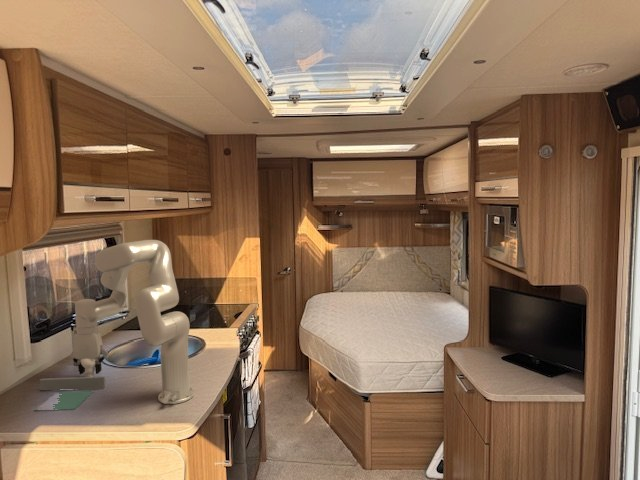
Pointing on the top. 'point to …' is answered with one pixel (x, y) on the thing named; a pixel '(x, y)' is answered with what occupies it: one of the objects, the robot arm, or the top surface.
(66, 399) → the mat
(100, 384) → the low wall
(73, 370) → the top surface
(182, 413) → the top surface
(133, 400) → the top surface
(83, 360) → the lightbulb
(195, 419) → the top surface
